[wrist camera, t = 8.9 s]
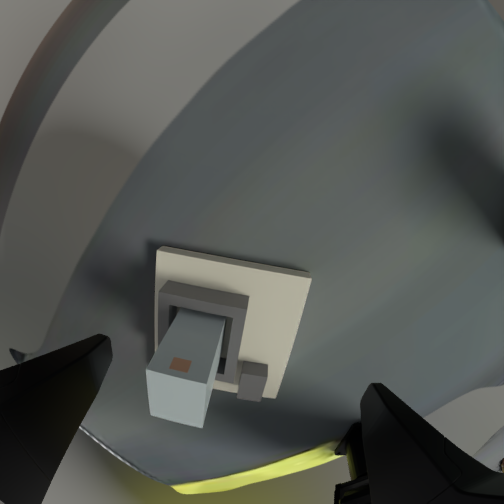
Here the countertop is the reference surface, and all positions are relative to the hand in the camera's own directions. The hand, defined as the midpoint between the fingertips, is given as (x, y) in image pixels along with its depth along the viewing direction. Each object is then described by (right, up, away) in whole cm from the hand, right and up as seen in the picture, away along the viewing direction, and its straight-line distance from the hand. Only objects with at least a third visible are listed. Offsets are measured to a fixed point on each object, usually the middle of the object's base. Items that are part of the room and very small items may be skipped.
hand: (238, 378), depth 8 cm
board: (-2, -2, +14) cm, 14 cm away
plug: (-3, -2, +13) cm, 13 cm away
